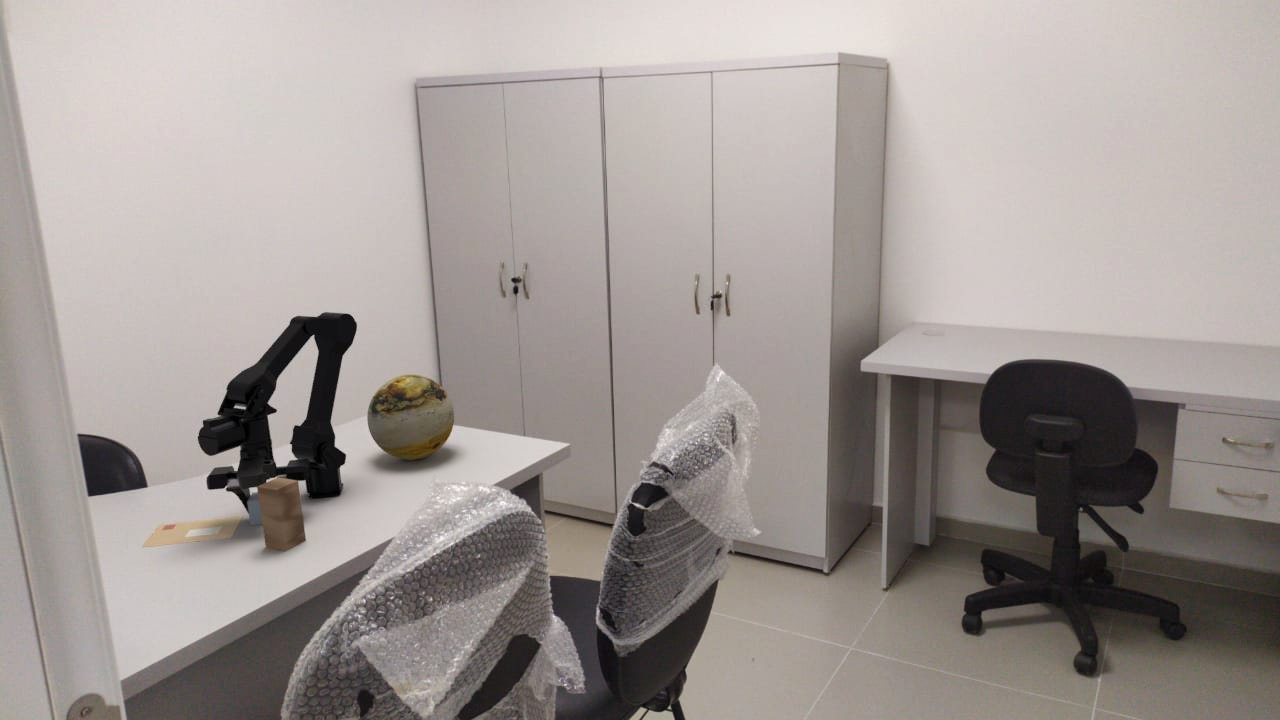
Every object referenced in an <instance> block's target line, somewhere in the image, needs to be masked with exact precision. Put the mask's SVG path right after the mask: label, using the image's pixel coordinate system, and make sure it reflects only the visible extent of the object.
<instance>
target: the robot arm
mask: <svg viewBox="0 0 1280 720" xmlns="http://www.w3.org/2000/svg"><path fill="white" fill-rule="evenodd" d="M357 330H358V323H357V321H356V319H355V318H354V317H353V316H352V315H351V314H349V313H345V312H343V313H342V312H331V311H330V312H329V311H324V312H322V313H321V314H319V315H318V316H307V315H296V316H294V317H292V318H291V319H290V321H289V324H288V325H287V326H286V328H285V329H284V330H283V331H282V333H280V335H279V336H278V337H277V339H275V341H273V343H272V344H271V345H270V346H269V348H268V349H267V351H266V352H264V353H263V355H262V356H261V357H260V358H259V360H258V361H257V362H256V363H254V364H252V365H251V366H249V367H247V368H245V369H244V370H242V371H241V372H239V373H238V374H236V376H234V377H233V378H232V379H231V380H230V381H229V383H228V384H226V393H225V395H224V397H223V398H222V402H221V404H220V406H219V409H218V410H217V414H216V415H217V416H216V417H213V418H206V419H203V420H202V427H201V428H200V429H199V431H198V436H197V442H198V445H199V447H200V448H201V451H202V452H203V453H204V454H206V455H207V456H208V457H213V456H217V455H219V454H222V453H224V452H227V451H231V450H233V449H236V448H240V450H239V457H240V458H239V463H238V466H237V470H235V469H234V466H233V465H228V466H219V467H214V468H213V469H212V470H211V471H210V473H209V474H208V476H206V487H207V490H208V491H209V490H210V491H212V490H223V489H225V491H226V492H227V493H229V492H230V493H233V494H234V495H236V496H237V498H238V499H239V500H240V502H241V504H242V506H243V507H244V509H245V510H246V512H247V514H248V515H249V511H248V504H247V501H248V499H249V498H250V496H251V495H252V494H251V490H250V488H257V486H260V485H262V484H264V483H267V482H268V481H270V479H276V478H278V477H279V478H285V479H291V480H297V481H298V482H302V481H305V488H306V493H307V494H308V495H307V497H308V499H317V498H319V499H320V498H328V497H336V496H340V495H341V494H342V491H343V488H344V483H342V477H341V475H342V474H341V469H340V468H341V467H342V466H344V465H345V464H346V459H347V454H346V453H345V452H344V451H342V450H341V449H340V448H338V447H337V446H335V445H336V433H335V430H334V427H333V426H332V425H333V424H332V417H333V411H334V407H335V406H334V405H335V399H336V395H337V388H338V384H339V383H338V382H339V378H340V373H341V368H342V363H343V356H344V355H345V353H346V352H347V351H348V350H349V348H351V346H352V345H353V343H354V339H355V336H356V335H357ZM313 336H314V337H313ZM312 337H313V339H314V342H315V346H316V347H317V351H318V354H317V360H316V363H315V364H316V365H315V371H314V376H313V381H312V385H311V390H310V391H311V392H310V397H309V402H308V407H307V412H306V416H305V417H306V418H305V419H304V421H303V422H302V423H301V425H296V424H295V425H294V426H293V429H292V437H291V439H290V441H289V445H291V453H292V454H293V457H294V458H296V459H291V460H289V461H288V463H287V464H286V465H285V466H284V465H282V466H277V463H276V461H275V458H274V454H273V453H274V451H273V440H272V438H271V429H270V423H269V417H268V416H269V415H272V414H276V413H277V412H278V409H277V408H275V407H273V406H271V405H270V404H269V401H270V400H271V398H272V396H273V394H274V393H275V391H276V389H277V381H278V379H279V378H280V375H282V373H283V372H284V371H285V369H286V368H287V367H288V366H289V365H290V363H291V362H292V361H293V360H294V359H295V357H296V356H297V355H298V354H299V352H300V351H301V350H302V348H304V347H305V345H306V344H307V343H308V341H309V340H311V338H312ZM236 406H237V407H236ZM238 407H239V408H238ZM240 407H242V408H240ZM267 480H268V481H267Z"/></svg>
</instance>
